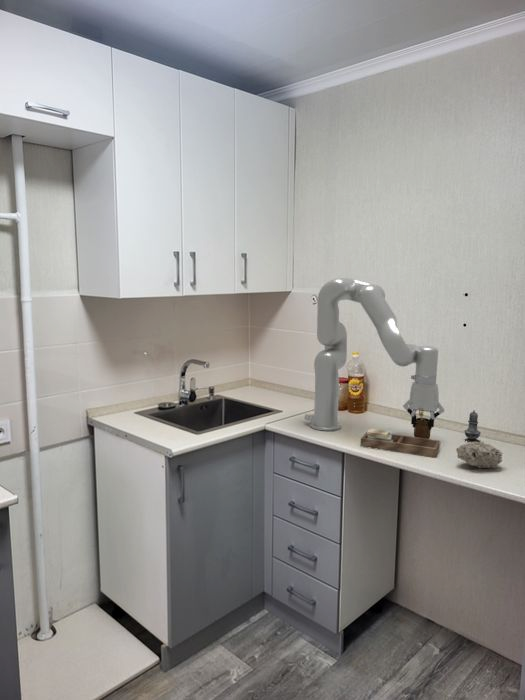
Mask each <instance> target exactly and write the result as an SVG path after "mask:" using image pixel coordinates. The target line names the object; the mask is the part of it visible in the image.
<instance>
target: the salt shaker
mask: <svg viewBox="0 0 525 700" xmlns="http://www.w3.org/2000/svg"><path fill="white" fill-rule="evenodd" d="M478 417H479V415H478V413H477V412H476V411H475V409H473V411H472V412H470V413H469V420H468V421H467V422H468V426H467V429H465V430H463V432H464V436H465V437H466V438H464V440H465V441H464V442H466V441H467V442H466V443H469V442H479V443H480V440H478V439H479V437H480V435H481V431H480V430H478V424H479V421H478Z"/></svg>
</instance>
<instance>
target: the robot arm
mask: <svg viewBox="0 0 525 700" xmlns="http://www.w3.org/2000/svg"><path fill="white" fill-rule="evenodd" d="M317 295H318V296H317V301H316V302H317V307H316V308H317V313H316V314H317V315H316V318H317V319H316V322H317V323H316V326H317V328H316V339H317V341H318V342H319V343H320V345H322V346H324V349H323V350H321V351H319V352H318V353H317V354H316V356H315V358H314V362H313V365H314V366H313V368H314V380H315V381H314V408H313V414H308V413H305V414H304V419H305V420H307V421H310V423H309V426H310V428H312V429H314V430H317V431H326V432H327V431H328V432H331V431H338V430H340V429H341V428H342V423H340V422H338V420H339V418H338V417H339V395H340V378H339V376H340V375H339V370H340V369H342V368H343V367H344V366H345V365H346V362H347V356H348V352H347V351H348V345H347V343H348V334H347V333H348V332H347V329H346V327H345V325H344V324H343V323H342V322H341V321H340V309H339V302H340V301H345V300H347V301H350V302H351V301H352V302H355V303H358V304H360V305H361V306H362V309H363V310H364V312H365V314H367V316H368V317H369V319H370V321H371V323H372V324H373V326H374V327H375V329H376V332H377V334H378V337H379V339H380V342H381V344H382V346H383V348H384V349H385V351H386V352H387V354H388V355H389V357H390V359H391V360H392V362H393V363H394V364H395V365H396V366H399V367H402V368H403V367H405V368H406V367H407V366H410V365H412V364H415V374H414V375H411V376H410V379H411V380H414V381H413V382H412V383H411V387H410V394H409V399H408V400H407V401H406V402H405V403H404V404H403V405H402V407H403V409H405V410H406V411H407V413H408V414H409V415H410V417H411V421H410V424H411V425H412V428H414V427H415V423H416V418H417V414H416V413H417V411H419V408H420V412H421V410H422V408H423V412H424V411H425V412H426V413H429V415H430V418H429V430H431V431H432V428H434V426H435V419H436V418H437V417H438V416H440V415H441V414H443V413H445V408H444V407H443V406H442V405H441V403H440V401H439V398H440V396H439V384H438V383H437V373H438V362H439V361H438V360H439V350H438V348H437V347H435V346H429V345H423V346H422V345H416V344H411V343H406V341H405V340H404V338H403V337H402V335H401V333H400V330H399V327H398V321H397V316H396V314H395V313H394V311H393V310H392V309H391V306H390V305H389V304H388V302H387V301H386V293H385V290H384V288H382V286H379V285H378V284H373V283H370V282H369V283H368V282H365V281H361V280H357V279H354V278H353V279H352V278H348V277H347V278H346V277H337V278H333V279H331V280H329V281H327V282H326V283H324V284H323V285H322V286H321V288H320V289H319V292H318V294H317Z"/></svg>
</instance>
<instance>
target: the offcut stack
mask: <svg viewBox="0 0 525 700" xmlns="http://www.w3.org/2000/svg"><path fill="white" fill-rule="evenodd" d="M366 432H367V436H368V439H375V440H382V441H389V442H393V440H392V435H390V434H391V430H384V429H378V428H370V429H369V430H367V431H366Z"/></svg>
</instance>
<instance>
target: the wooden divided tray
mask: <svg viewBox="0 0 525 700" xmlns="http://www.w3.org/2000/svg"><path fill="white" fill-rule="evenodd" d="M390 435H392V440H393V442H389V441H382V440H375V439H368V436H367V431H366V432H365V433H364V434H363V436H362V437H361V438H360V447H361V446H364V447H363V448H368V447H371V448H370V449H375V448H377V450H381V449H383V450H382V451H388V450H390V451H389V452H395V451H396V452H397V453H401V454H409V455H410V454H411V455H417V456H423V457H429V458H437V456H438V453H439V451H440V446H441V439H439V440H438V439H433V438H429V439H426V438H418V437H414V436H410V435H402V434H396V433H390Z"/></svg>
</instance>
